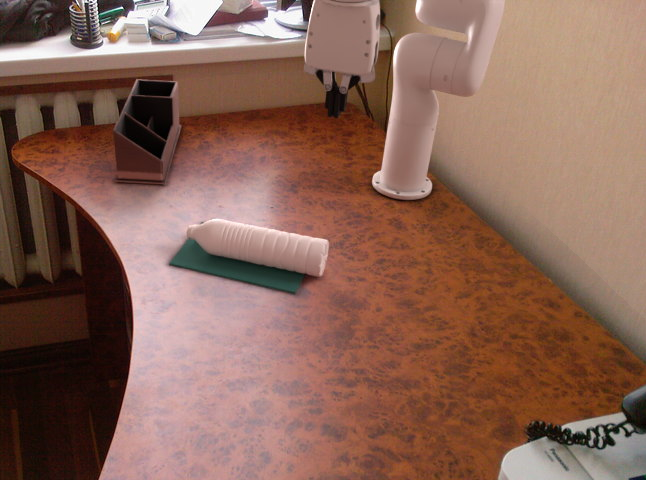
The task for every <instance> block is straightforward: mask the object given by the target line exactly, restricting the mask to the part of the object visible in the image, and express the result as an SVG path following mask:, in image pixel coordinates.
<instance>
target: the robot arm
mask: <svg viewBox="0 0 646 480" xmlns="http://www.w3.org/2000/svg"><path fill="white" fill-rule="evenodd" d="M380 4H381V3H380V0H313V1H312V7H311V11H310V15H309V21H308V27H307V31H306V39H305V46H304V64H303V68H302V70H303V72H305V73H307V74H309V75H312V76H314V77H316V79H318V80H319V82H320V83H321V84H322V86H323V89H324V90H325V102H324V109H325V110H327V115H326V116H327V118H332V117H333V118H334V119H339V118H340V116H341V114H342V113H345V112H346V110H347V104H348V96H349V91H350V90H351V89H353V88H354V87H355V86H356V85H357V84H369V83H373V82H374V81H375V79H376V70H375V66H376V64H377V61H378V56H379V46H380V35H381V33H380V32H381V5H380ZM505 7H506V0H416V3H415V16H416V19H417V20H418V21H419V22H420V23H422V24H423V25H426V26H429V27H432V28H437V29H442V30H446V31H451V32H456V33H460V34H464V35H466V36H467V41H463V40H458V39H453V38H449V37H446V36H441V35H436V34H431V33H426V32H410V33H408V34H405V35H404V36H402V37H401V38H400V39H399V40H398V42H396V45H395V48H394V51H393V58H392V75H393V76H392V77H393V78H392V79H393V81H392V82H393V85H392V97H391V103H390V104H391V105H390V110H389V118H388V123H387V130H386V137H385V144H384V148H383V149H384V150H383V156H382V163H381V169H380V170H378V171H377V172H375V173H374V174H373V176H372V180H371V184H372V187H373V189H375V190H376V191H377V192H378V193H380V194H382V195H383V196H385V197H388V198H391V199H396V200H403V201H414V200H415V201H416V200H420V199H423V198H426V197H427V196H428V195H430V194H431V192H432V190H433V183H432V180H431V179H430V178H429V177H427V176H428V171H429V167H430V161H431V155H432V151H433V145H434V140H435V136H436V130H437V125H438V120H439V115H440V104H439V99H438V96H437V94H436V92H439V93H444V94H448V95H453V96H457V97H462V98H469V97H472V96H474V95H475V94H477V93H478V91H479V90H480V88H481V87H482V84H483V82H484V79H485V77H486V73H487V71H488V67H489V63H490V60H491V57H492V54H493V50H494V47H495V44H496V41H497V37H498V34H499V31H500V27H501V23H502V21H503V20H502V19H503V16H504V12H505ZM337 73H340V74H342V77H341V81H340V84H339V85H338V82H337ZM435 91H436V92H435Z"/></svg>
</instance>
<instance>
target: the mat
mask: <svg viewBox="0 0 646 480" xmlns="http://www.w3.org/2000/svg"><path fill="white" fill-rule="evenodd" d="M203 223H205V222H204V221H201V222H200V224H203ZM169 266H173V267H177V268H182V269H186V270H190V271H194V272H199V273H203V274H207V275H211V276H216V277H220V278H224V279H228V280H233V281H236V282H242V283H247V284H250V285H254V286H258V287H262V288H267V289H272V290H276V291H279V292H285V293H289V294H293V295H296V294H297V292H298V290H299V288H300V286H301V284H302V282H303V280H304V278H305V276H306V274H307V273H305V274H303V273H298V272H296V271H289V270H286V269H279V268H276V267H269V266H265V265H264V264H263V265H259V264H255V263H251V262H246V261H242V260H237V259H233V258H228V257H223V256H216V255H212V254H209V253H208V252H206V251H205V250H204V249H203V248H202V247H201V246H200V245H199V244H198V243H197V242H196V241H195V240H194V239H193V240H191V238H188V239H187V240H186V241H185V242H184V244H183V245H182V247H181V248H180V249H179V250H178V251H177V253H176V254H175V255H174V257H173V258H172V259H171V260H170V261H169Z"/></svg>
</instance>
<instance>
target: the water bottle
mask: <svg viewBox="0 0 646 480" xmlns="http://www.w3.org/2000/svg"><path fill="white" fill-rule="evenodd" d="M186 238H188V239H189V238H191V240H193V239H194V240H195V241H196V242H197V243H198V244H199V245H200V246H201V247H202V248H203V249H204V250H205V251H206V252H208V253H209V254H212V255H216V256H223V257H228V258H233V259H237V260H242V261H246V262H251V263H255V264H259V265H263V264H264V265H265V266H269V267H276V268H279V269H286V270H289V271H296V272H298V273H303V274H305V273H306V274H307V275H309V276H313V277H317V278H321V277H322V276H323V274H324V271H325V269H326V265H327V263H326V262H327V260H328V258H329V257H328V256H329V249H330V242H329V240H328V239H325V238H321V237H312V236H310V235H301V234H299V233H294V232H289V231H281V230H278V229H274V228H271V229H270V228H268V227H263V226H257V225H253V224H247V223H242V222H238V221H232V220H228V219H227V220H226V219H223V218H212V219H209V220H207V221H205V222H204V223H203V224H201V223H196V224H189V225H188V226H187V228H186ZM306 274H305V275H306Z"/></svg>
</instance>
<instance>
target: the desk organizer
mask: <svg viewBox="0 0 646 480" xmlns="http://www.w3.org/2000/svg"><path fill="white" fill-rule="evenodd" d="M179 96H180V95H179V82H178V80H177V81H175V80H174V81H173V80H156V79H139V78H136V79H135V81H134V84H133V86H132V88H131V90H130V93H129V95H128V98H127V99H126V102H125V104H124V106H123V108H122V110H121V112H120V114H119V116H118V118H117V120H116V122H115V125H114V127H113V130H112V135H113V144H114V155H115V156H114V157H115V158H114V159H115V168H116V176H115V178H114V180H113V181H114V182H115V183H129V184H130V183H133V184H149V185H150V184H151V185H163V186H164V185H166V183H167V179H168V175H169V172H170V169H171V164H172V161H173V158H174V154H175V150H176V147H177V144H178V141H179V136H180V133H181V130H182V124H180V105H179V100H180V99H179Z"/></svg>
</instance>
